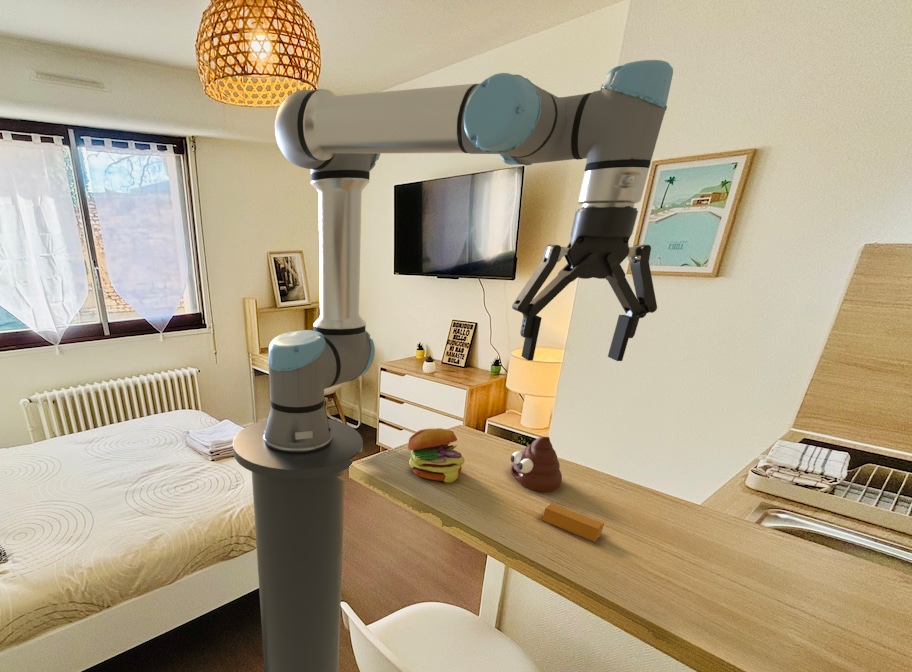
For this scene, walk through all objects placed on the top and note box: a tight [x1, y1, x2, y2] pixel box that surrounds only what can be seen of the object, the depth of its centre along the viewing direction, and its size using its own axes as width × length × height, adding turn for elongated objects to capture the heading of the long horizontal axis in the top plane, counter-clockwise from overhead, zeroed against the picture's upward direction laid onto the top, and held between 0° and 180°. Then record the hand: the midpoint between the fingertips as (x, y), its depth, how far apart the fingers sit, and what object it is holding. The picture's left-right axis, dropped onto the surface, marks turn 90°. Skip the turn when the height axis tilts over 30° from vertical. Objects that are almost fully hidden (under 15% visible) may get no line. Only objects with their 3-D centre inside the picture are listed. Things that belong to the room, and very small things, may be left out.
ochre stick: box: [541, 502, 605, 542], centre depth 74 cm, size 8×2×2 cm, turn 42°
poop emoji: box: [510, 436, 563, 492], centre depth 86 cm, size 10×8×9 cm
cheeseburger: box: [407, 427, 465, 484], centre depth 90 cm, size 10×11×10 cm
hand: (570, 358), depth 73 cm, fingers open, 13 cm apart
